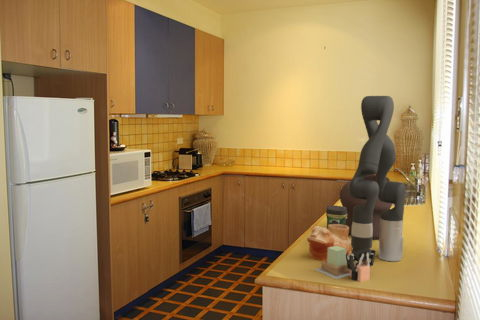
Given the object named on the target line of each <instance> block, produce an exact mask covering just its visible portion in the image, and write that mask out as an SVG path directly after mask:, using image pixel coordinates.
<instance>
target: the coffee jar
mask: <svg viewBox="0 0 480 320" xmlns="http://www.w3.org/2000/svg"><path fill="white" fill-rule="evenodd" d="M325 216H326V222H327V223H326V228H327V229H328V225H330V224H341V225H345V222H346V218H347V208H346V207H343V206H342V205H334V204H333V205H332V204H329V205H328V206H327V207H326V210H325Z"/></svg>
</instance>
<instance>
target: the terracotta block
mask: <svg viewBox="0 0 480 320" xmlns="http://www.w3.org/2000/svg"><path fill="white" fill-rule="evenodd" d="M354 267H356V264H355V266H354ZM351 275H352V270H350V276H349V278H350V279H352V278H351ZM370 279H371V266H368V265H365V264H362V262H361V265H360V266H359V268H358V280H357V281H358V282H360V283H362V282H364V281H368V280H370Z"/></svg>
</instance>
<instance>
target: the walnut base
mask: <svg viewBox="0 0 480 320" xmlns="http://www.w3.org/2000/svg"><path fill="white" fill-rule="evenodd" d="M350 266H351V265H350ZM320 268H321V270H323V271H325V272H328V273H330V274H332V275H335V276H339V275H343V274H347V273H350V269H348V268H347V262H346V264H345V265H341V266H337V267H336V266H334V265H331V264H329V263H327V261H322V262H321V267H320Z"/></svg>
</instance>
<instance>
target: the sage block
mask: <svg viewBox="0 0 480 320" xmlns="http://www.w3.org/2000/svg"><path fill="white" fill-rule="evenodd" d="M346 251H347V249H345V248H342V247H339V246H333V247H329V248H328V254H327V263H329V264H331V265H334V266H336V267H337V266H341V265H345V264H346V263H347V262H346Z"/></svg>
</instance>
